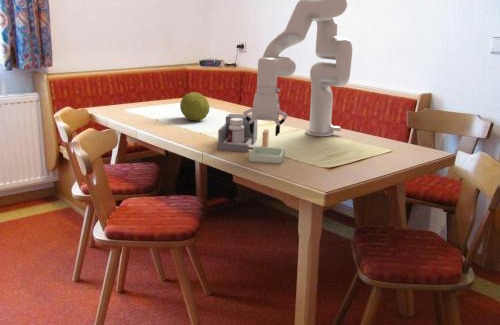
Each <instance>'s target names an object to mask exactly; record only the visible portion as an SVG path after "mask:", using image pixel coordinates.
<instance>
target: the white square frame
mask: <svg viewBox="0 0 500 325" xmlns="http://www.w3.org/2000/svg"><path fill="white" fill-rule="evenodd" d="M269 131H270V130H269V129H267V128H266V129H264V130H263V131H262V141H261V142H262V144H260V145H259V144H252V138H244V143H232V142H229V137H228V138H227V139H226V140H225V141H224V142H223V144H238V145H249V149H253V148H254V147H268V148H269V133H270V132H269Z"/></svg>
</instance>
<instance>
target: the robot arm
mask: <svg viewBox="0 0 500 325" xmlns="http://www.w3.org/2000/svg"><path fill="white" fill-rule="evenodd" d="M347 8H348V0H299V1H297V4H296V5H295V7H294V10H293V11H292V14H291V15H290V17H289V20H288V23H287V25H286V27H285V29H284V30H283V31H282V32H281V33H280V34H278V35H277V36H276V37H275V38H273V39H272V40H271V41H270V43H269V44H268V45H267V47H266V48H265V50H264V53H263V55H262V57H260V58H258V61H257V74H256V75H257V76H256V78H257V79H256V80H257V81H256V92H255V93H254V97H253V102H252V107H251V108H249V109H246V110H244V111H243V113H242V115H244V116H245V118H246V120H247V121H248V122H249V124H250V131H251V134H253V133H254V120H255V119H256V120H257V121H267V122H268V121H269V122H270V121H271V122H272V121H273V122H274V123H275V124H276V125H275V135H274V136H275V137H278V135H279V134H280V131H281V125H282V124H283V123H285V121H286V119H287V118H288V116H289V114H288V113H286V112H284V111H282V110H281V109H280V97H279V94H278V93H280V92H281V88H279V87H278V77H282V78H288V77H291V76H292V75H294V73H295V72H296V69H297V68H296V67H297V66H296V62H295V61H294V59H292V58H290V57H286V56H279V55H280V54H281V53H282V52H283V51H285V50H286V49H288V48H290V47H292V46H295V45H298V44H300V43H302V42H303V41H304V40H305V39H306V36H307V34H308V32H309V30H310V27H311V25H312V22H316V39H315V54H316V57H318V58H319V59H322V60H329V61H335V63H333V62H326V61H321V62H320V61H319V62H315V63H314V64H313V65H312V66H310V67H311V68H310V71H309V78H310V84H311V86H310V87H311V88H310V89H311V90H310V91H311V92H310V110H309V111H310V112H309V125H308V126H309V128H307V129H305V133H306V134H307V135H309V136H313V137H331V136H334V134H335V132H341V129H342V128H341V126H338V125H333V124H332V117H333V116H332V114H333V113H332V112H333V101H334V94H333V93H334V92H333V91H332V87H340V88H342V87H346V85H347V84H348V83H349V80H350V78H351V71H352V70H351V67H352V61H353V60H352V58H353V57H352V56H353V44H352V42H351V40H350V39H349V38H347V37H341V36H338V21H337V20H336V18H337V17H340V16H341V15H343V14H344V13H345V11H346V10H347ZM331 86H332V87H331ZM249 114H251V115H252V119H251V118H250V117H249V116H248V115H249ZM280 115H281V116H282V119H279V117H280ZM334 131H335V132H334Z"/></svg>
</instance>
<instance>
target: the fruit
mask: <svg viewBox="0 0 500 325" xmlns="http://www.w3.org/2000/svg"><path fill="white" fill-rule="evenodd" d="M179 107H180V108H179V109H180V112H181V113H182V115H183V116H184V117H185V118H186V119H188V120H190V121H192V122H193V121H194V122H198V121H202V120H204V119H206V117H207V115H208V114H209V113H210V109H211V108H210V104H209V102H208V99H207V98H206V97H205V96H204V95H203V94H201V92H195V91H191V92H188V93H186V94H184V95H183V96H182V98H181V101H180V104H179Z"/></svg>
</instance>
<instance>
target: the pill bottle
mask: <svg viewBox="0 0 500 325" xmlns="http://www.w3.org/2000/svg"><path fill="white" fill-rule="evenodd" d="M230 124H231V125H230V126H229V142H232V143H244V126H243V125H242V124H243V119H241V118H231V119H230Z"/></svg>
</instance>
